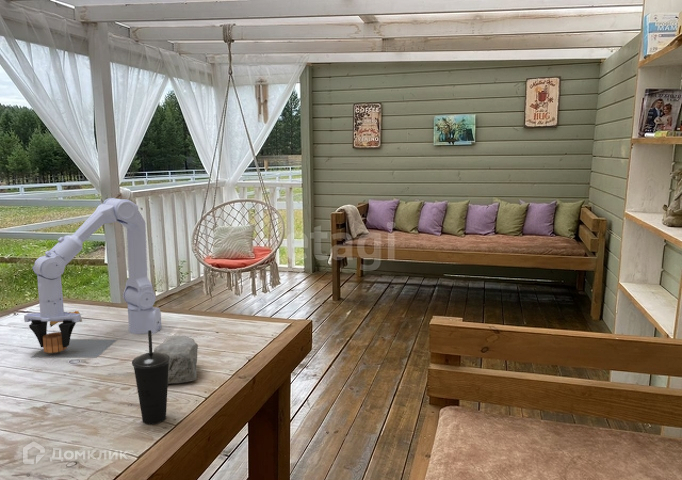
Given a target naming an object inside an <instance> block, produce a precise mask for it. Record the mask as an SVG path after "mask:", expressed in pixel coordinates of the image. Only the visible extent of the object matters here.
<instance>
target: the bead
mask: <svg viewBox="0 0 682 480" xmlns="http://www.w3.org/2000/svg"><path fill="white" fill-rule="evenodd" d="M66 348H67V347H63V345H62V335H61V331H54V332H51V333H50V332H49V333H47V334H46V335H44V336H43V347H42V349H44V352H46V353H55V352H58V351H59V352H60V351H63V350H65V349H66Z"/></svg>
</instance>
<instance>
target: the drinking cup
mask: <svg viewBox="0 0 682 480" xmlns="http://www.w3.org/2000/svg"><path fill="white" fill-rule="evenodd" d="M147 335H148V337H147V338H148V340H147V341H148V352H146V353H143V354H141V355H139V356H136V357H135V358H133V359H132V361H131V365H132V366H133V371H134V376H135V382H136V389H137V395H138V401H139V408H140V413H141V420H142V423H144V424H146V425H150V426H151V425H157V424H160V423H162V422H164V421H165V420H166V419H167V407H168V403H167V402H168V389H169V388H168V386H169V384H168V368H169V361H170V356H169V355H167V354H164V353H159V352H154V351H153V333H151V330H149V331H148V333H147Z"/></svg>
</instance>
